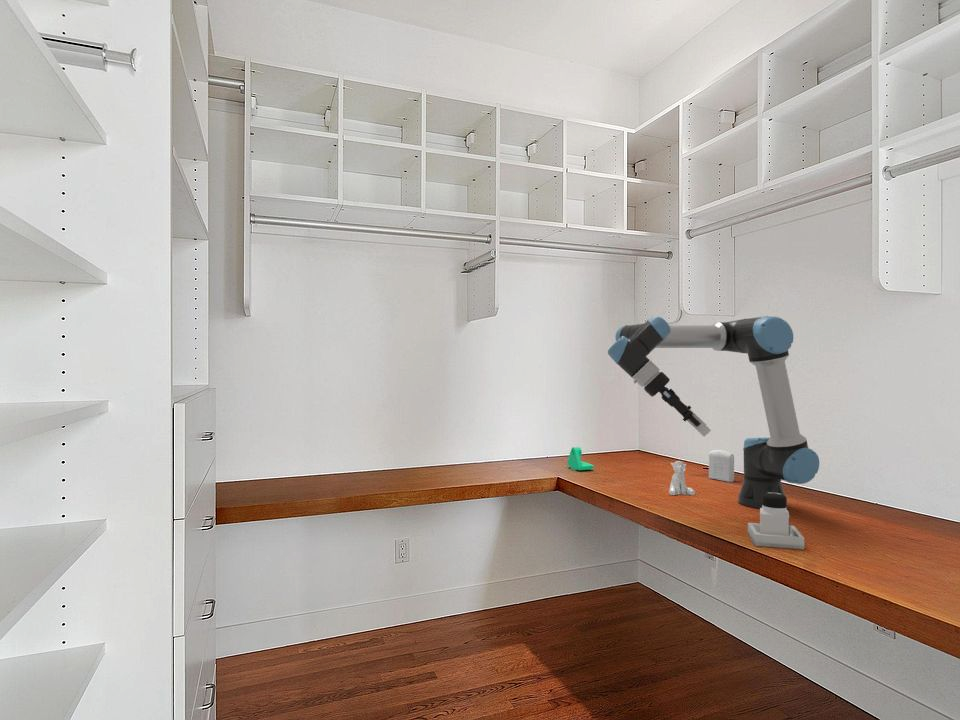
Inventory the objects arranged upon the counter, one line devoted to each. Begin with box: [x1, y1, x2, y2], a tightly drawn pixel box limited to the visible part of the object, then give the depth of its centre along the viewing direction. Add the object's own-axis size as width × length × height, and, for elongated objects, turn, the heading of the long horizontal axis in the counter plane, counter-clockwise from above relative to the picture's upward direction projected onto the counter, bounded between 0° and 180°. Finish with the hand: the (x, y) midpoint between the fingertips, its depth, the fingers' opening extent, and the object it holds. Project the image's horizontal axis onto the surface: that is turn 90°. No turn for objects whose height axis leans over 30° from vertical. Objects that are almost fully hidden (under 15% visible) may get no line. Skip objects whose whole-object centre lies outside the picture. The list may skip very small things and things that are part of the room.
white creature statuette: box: [668, 460, 696, 496], centre depth 222 cm, size 10×9×12 cm
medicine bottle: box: [759, 493, 791, 536], centre depth 163 cm, size 7×7×12 cm
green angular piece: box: [566, 446, 594, 471], centre depth 270 cm, size 12×8×10 cm, turn 17°
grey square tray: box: [747, 522, 805, 550], centre depth 163 cm, size 12×12×3 cm
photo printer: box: [708, 449, 735, 483], centre depth 245 cm, size 10×4×12 cm, turn 38°
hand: (705, 430), depth 174 cm, fingers open, 13 cm apart
